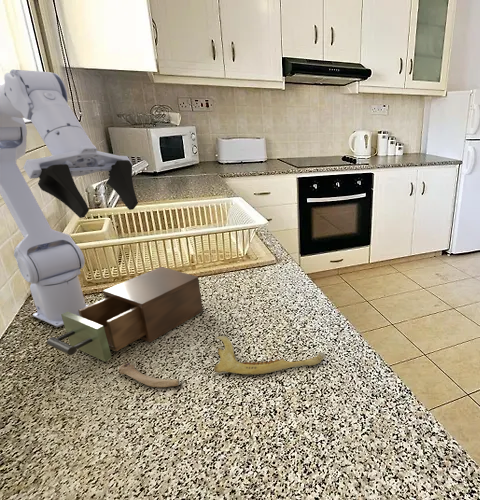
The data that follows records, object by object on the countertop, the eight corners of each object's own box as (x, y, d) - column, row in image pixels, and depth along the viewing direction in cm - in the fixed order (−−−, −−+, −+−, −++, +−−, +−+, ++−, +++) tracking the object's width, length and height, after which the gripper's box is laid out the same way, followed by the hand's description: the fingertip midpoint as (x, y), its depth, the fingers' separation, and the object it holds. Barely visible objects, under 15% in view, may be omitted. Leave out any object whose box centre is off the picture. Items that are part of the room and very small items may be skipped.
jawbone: (195, 374, 65) (193, 367, 65) (219, 341, 73) (218, 335, 72) (312, 394, 62) (312, 387, 61) (325, 358, 69) (325, 351, 69)
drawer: (81, 376, 62) (71, 341, 60) (45, 357, 66) (34, 325, 64) (165, 327, 76) (160, 297, 74) (131, 314, 80) (125, 286, 78)
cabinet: (149, 342, 73) (141, 304, 70) (111, 327, 77) (102, 290, 74) (203, 311, 84) (198, 276, 81) (167, 299, 89) (161, 266, 86)
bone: (171, 394, 60) (169, 383, 59) (117, 377, 63) (114, 367, 63) (182, 383, 62) (181, 373, 62) (129, 368, 66) (127, 358, 65)
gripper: (15, 118, 50) (67, 202, 50) (121, 123, 63) (163, 190, 62) (3, 151, 54) (51, 229, 53) (105, 149, 66) (145, 213, 66)
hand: (110, 210), depth 58 cm, fingers open, 7 cm apart
